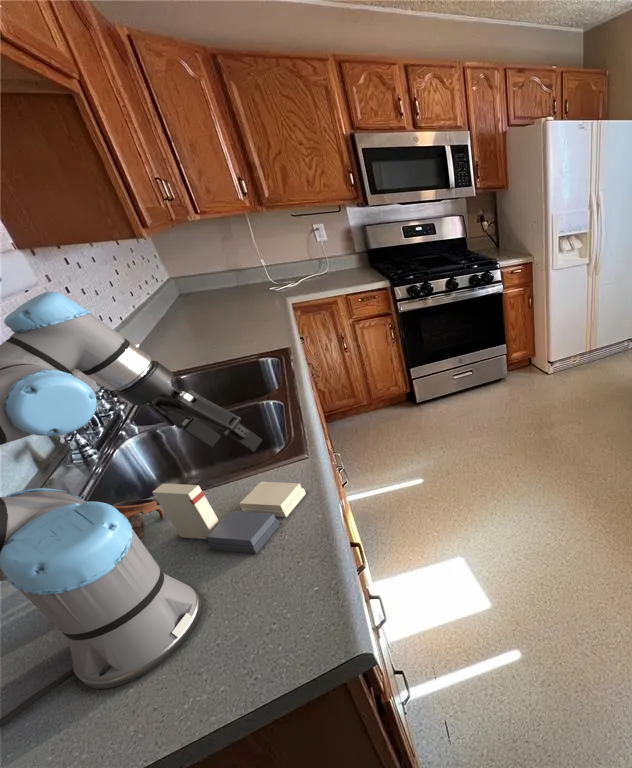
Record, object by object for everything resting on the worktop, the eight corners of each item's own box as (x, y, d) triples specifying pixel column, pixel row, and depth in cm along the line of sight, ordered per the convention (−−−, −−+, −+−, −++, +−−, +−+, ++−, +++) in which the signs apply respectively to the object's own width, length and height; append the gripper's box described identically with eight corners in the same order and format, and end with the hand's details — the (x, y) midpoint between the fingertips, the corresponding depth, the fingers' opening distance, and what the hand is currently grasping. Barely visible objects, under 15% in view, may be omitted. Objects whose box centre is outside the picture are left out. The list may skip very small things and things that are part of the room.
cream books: (286, 517, 85) (281, 506, 84) (244, 514, 87) (238, 503, 86) (305, 493, 92) (301, 482, 90) (266, 491, 93) (260, 480, 92)
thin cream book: (215, 540, 82) (188, 494, 76) (180, 537, 83) (151, 492, 77) (224, 530, 84) (199, 485, 78) (190, 527, 85) (163, 483, 79)
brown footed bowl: (96, 545, 83) (98, 503, 84) (157, 533, 91) (158, 495, 91) (107, 558, 76) (109, 513, 76) (172, 544, 83) (173, 503, 84)
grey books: (256, 553, 78) (250, 541, 76) (210, 549, 79) (203, 538, 78) (280, 524, 84) (274, 513, 82) (237, 521, 85) (230, 510, 84)
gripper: (192, 356, 66) (287, 430, 80) (115, 360, 76) (212, 425, 91) (156, 393, 61) (264, 464, 76) (80, 392, 72) (187, 455, 87)
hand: (235, 443), depth 84 cm, fingers open, 13 cm apart
